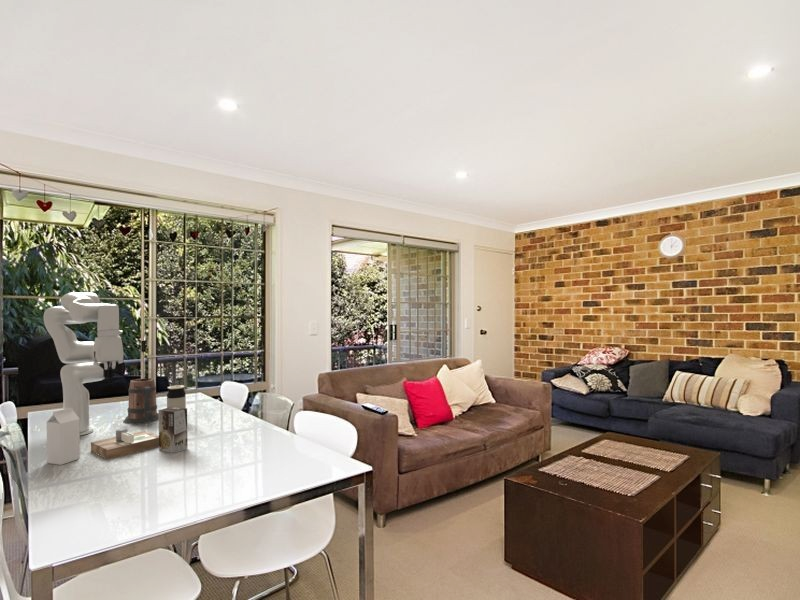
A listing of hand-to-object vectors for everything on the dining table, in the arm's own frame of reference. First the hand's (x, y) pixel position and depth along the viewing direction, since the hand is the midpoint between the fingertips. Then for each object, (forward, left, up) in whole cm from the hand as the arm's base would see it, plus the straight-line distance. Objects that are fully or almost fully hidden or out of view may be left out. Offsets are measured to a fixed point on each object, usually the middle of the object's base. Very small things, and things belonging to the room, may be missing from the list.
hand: (108, 378), depth 189 cm
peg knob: (+15, 0, -23) cm, 28 cm away
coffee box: (+29, +12, -27) cm, 42 cm away
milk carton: (+9, -18, -27) cm, 34 cm away
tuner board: (+12, +2, -27) cm, 30 cm away
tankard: (-28, +26, -27) cm, 47 cm away
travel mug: (-8, +32, -27) cm, 43 cm away
